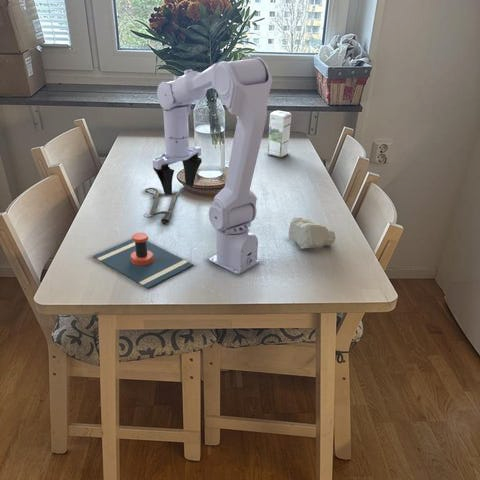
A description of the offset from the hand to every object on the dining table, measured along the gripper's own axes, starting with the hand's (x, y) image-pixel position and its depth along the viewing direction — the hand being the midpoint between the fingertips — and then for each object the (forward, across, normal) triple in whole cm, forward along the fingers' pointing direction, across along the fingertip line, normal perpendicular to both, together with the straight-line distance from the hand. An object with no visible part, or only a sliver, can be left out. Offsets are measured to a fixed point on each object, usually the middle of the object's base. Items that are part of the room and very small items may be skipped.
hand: (178, 189), depth 130 cm
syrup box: (+11, -65, -17) cm, 68 cm away
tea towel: (+10, +19, +7) cm, 23 cm away
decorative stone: (+11, -17, +31) cm, 37 cm away
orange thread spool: (+10, +19, +7) cm, 23 cm away
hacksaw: (+11, -4, -14) cm, 18 cm away
